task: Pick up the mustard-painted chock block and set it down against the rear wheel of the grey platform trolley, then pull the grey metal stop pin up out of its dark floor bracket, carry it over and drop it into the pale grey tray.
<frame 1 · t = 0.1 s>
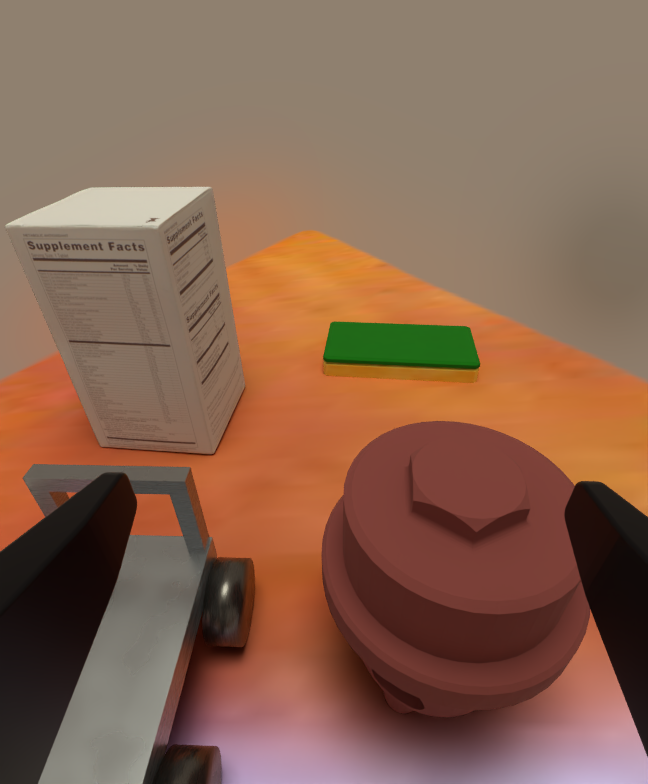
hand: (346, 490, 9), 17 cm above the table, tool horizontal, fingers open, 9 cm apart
mechanical component: (425, 649, 23), on the table
trolley: (125, 705, 21), on the table
supplement box: (178, 416, 38), on the table
dish sponge: (397, 364, 45), on the table
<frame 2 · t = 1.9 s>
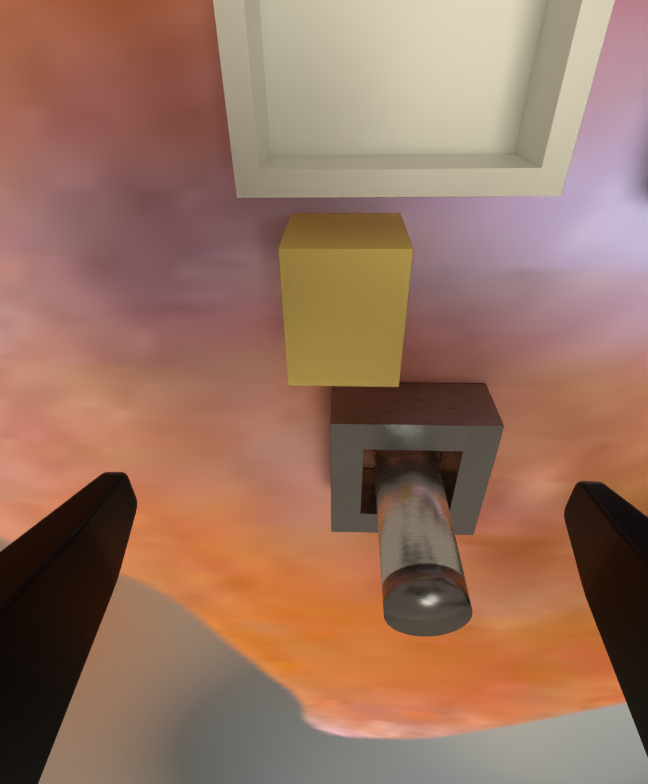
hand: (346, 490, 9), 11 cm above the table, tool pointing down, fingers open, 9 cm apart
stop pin: (412, 510, 19), in the pin bracket
pin bracket: (401, 439, 23), on the table
chock: (344, 277, 18), on the table
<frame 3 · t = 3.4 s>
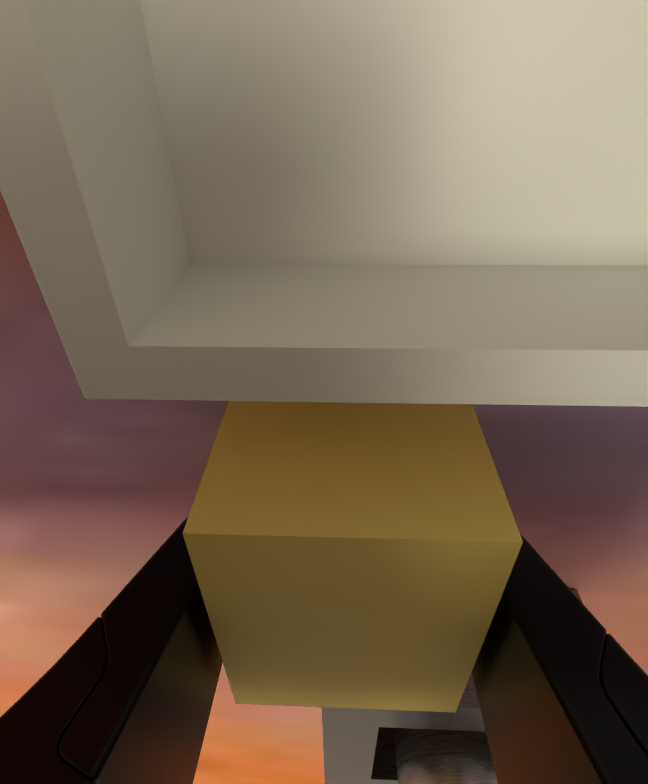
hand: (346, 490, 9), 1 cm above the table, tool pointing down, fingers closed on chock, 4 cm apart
pin bracket: (434, 645, 15), on the table
chock: (346, 454, 10), on the table, touching gripper
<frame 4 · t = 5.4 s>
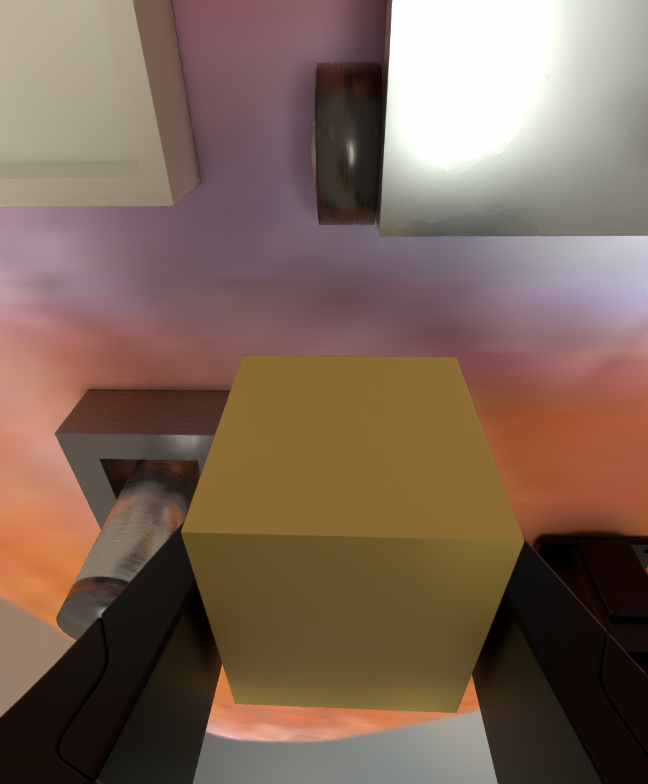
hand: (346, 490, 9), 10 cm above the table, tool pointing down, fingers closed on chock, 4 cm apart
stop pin: (147, 520, 19), in the pin bracket
pin bracket: (179, 447, 23), on the table
chock: (346, 453, 10), point 9 cm above the table, touching gripper
when the fingers open (1 cm above the table, at t = 7.2 s): chock stays where it is, on the table.
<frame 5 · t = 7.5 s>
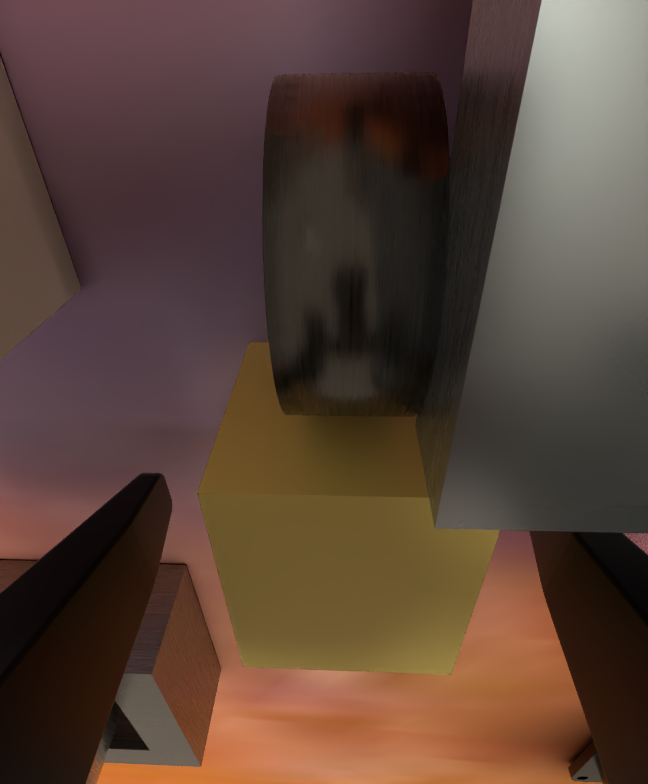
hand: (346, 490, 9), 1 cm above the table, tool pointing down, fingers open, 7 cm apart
pin bracket: (106, 621, 16), on the table
chock: (347, 434, 11), on the table
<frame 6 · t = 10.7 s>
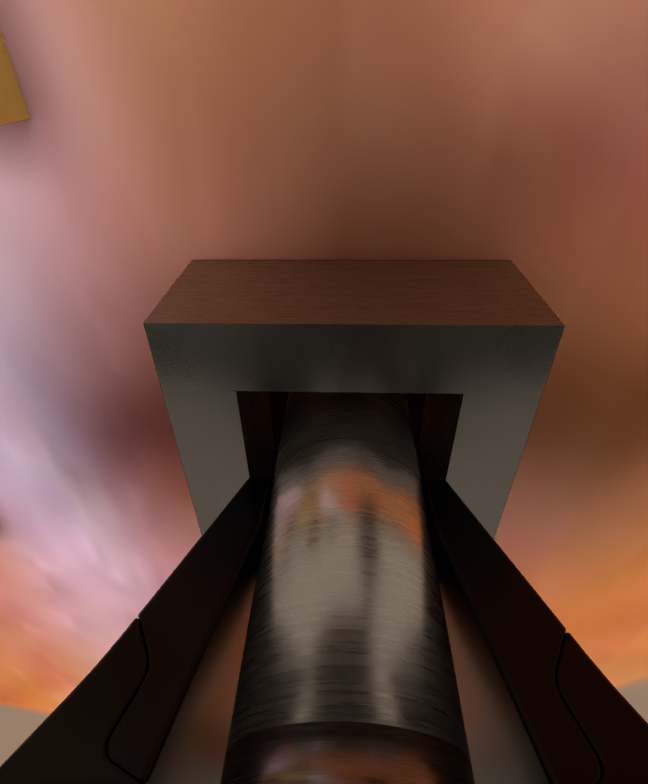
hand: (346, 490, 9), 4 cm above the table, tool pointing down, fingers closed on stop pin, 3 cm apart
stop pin: (346, 531, 8), in the pin bracket, touching gripper
pin bracket: (346, 389, 12), on the table
when the fingers open (6 cm above the table, at t = 14.4 s): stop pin drops 2 cm, resting on tray.
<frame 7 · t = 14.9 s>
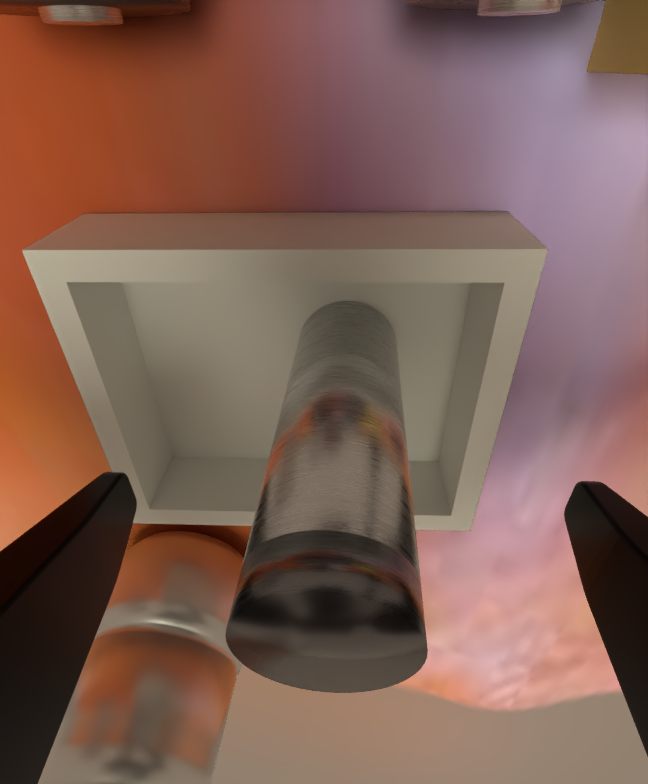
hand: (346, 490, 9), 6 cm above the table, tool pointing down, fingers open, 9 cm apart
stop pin: (340, 444, 10), in the tray
plastic bottle: (197, 551, 22), on the table
tray: (300, 361, 15), on the table
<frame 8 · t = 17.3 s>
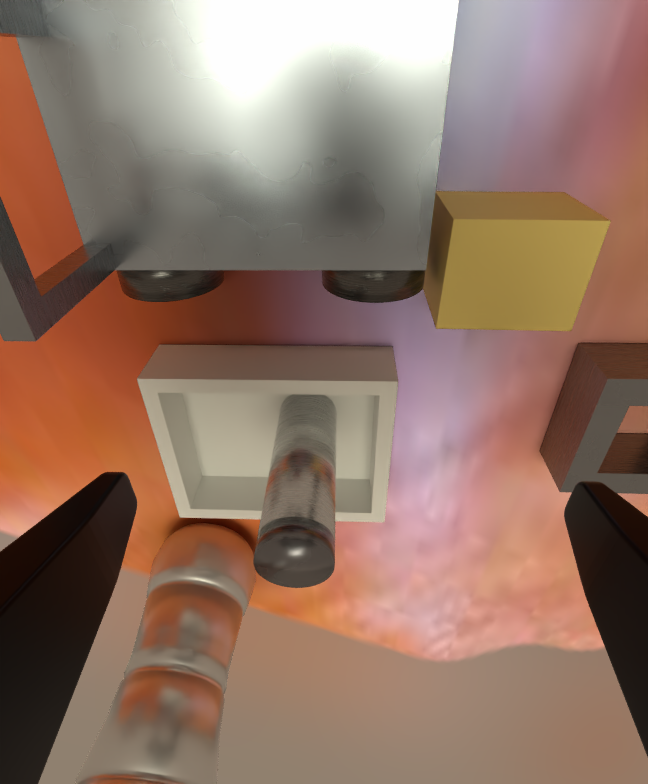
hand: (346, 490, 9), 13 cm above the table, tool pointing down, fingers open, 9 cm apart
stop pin: (302, 475, 20), in the tray
plastic bottle: (214, 537, 32), on the table
tray: (281, 420, 25), on the table
pin bracket: (626, 402, 23), on the table
trolley: (268, 128, 17), on the table
chock: (488, 241, 19), on the table
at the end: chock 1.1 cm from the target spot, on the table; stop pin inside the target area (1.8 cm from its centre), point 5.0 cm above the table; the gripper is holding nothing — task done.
